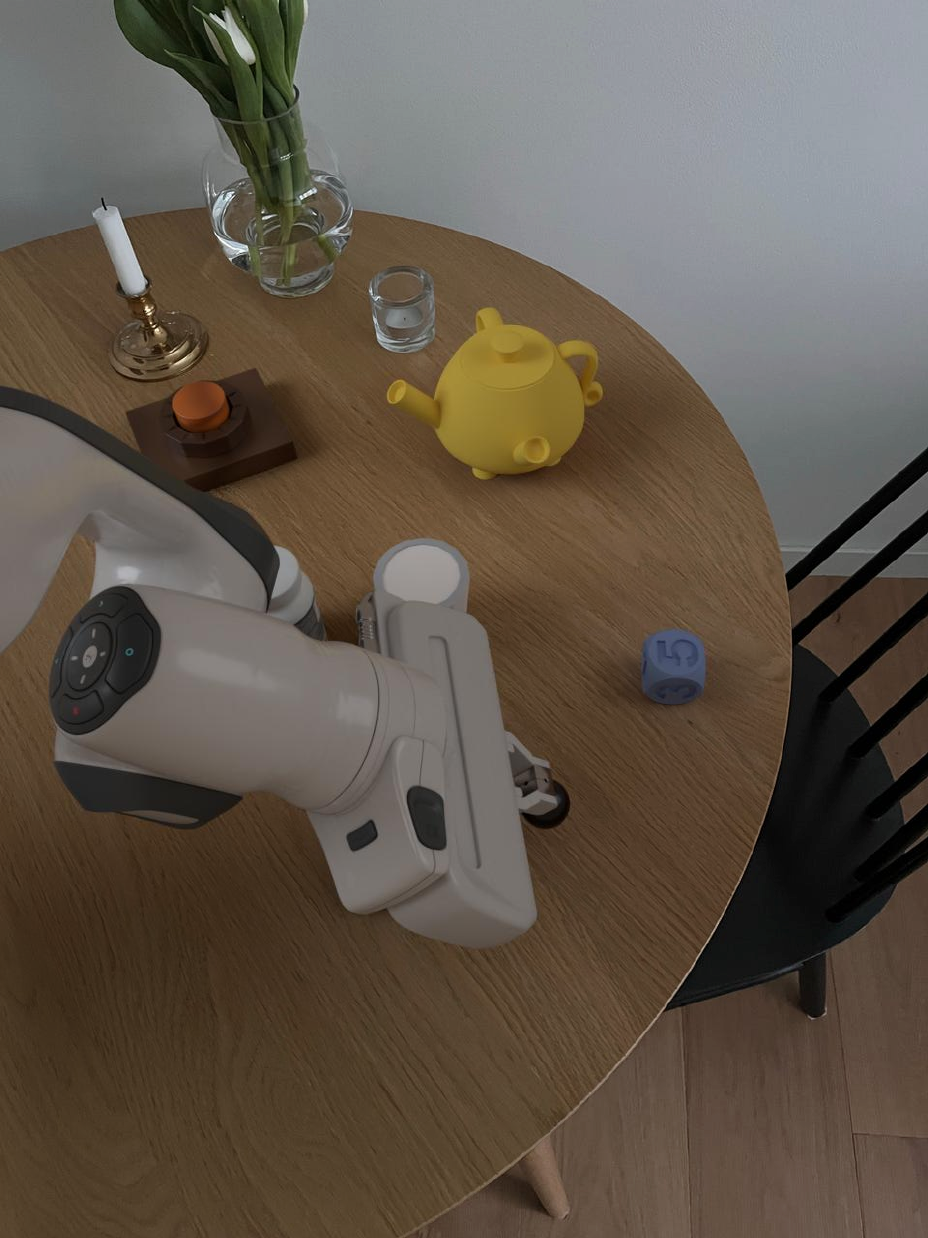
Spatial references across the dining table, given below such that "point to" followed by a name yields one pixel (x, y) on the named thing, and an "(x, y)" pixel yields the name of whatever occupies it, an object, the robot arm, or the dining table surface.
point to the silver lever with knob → (556, 814)
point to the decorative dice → (673, 666)
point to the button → (201, 407)
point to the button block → (217, 436)
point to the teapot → (506, 398)
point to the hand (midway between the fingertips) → (546, 789)
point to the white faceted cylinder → (424, 573)
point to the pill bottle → (296, 598)
